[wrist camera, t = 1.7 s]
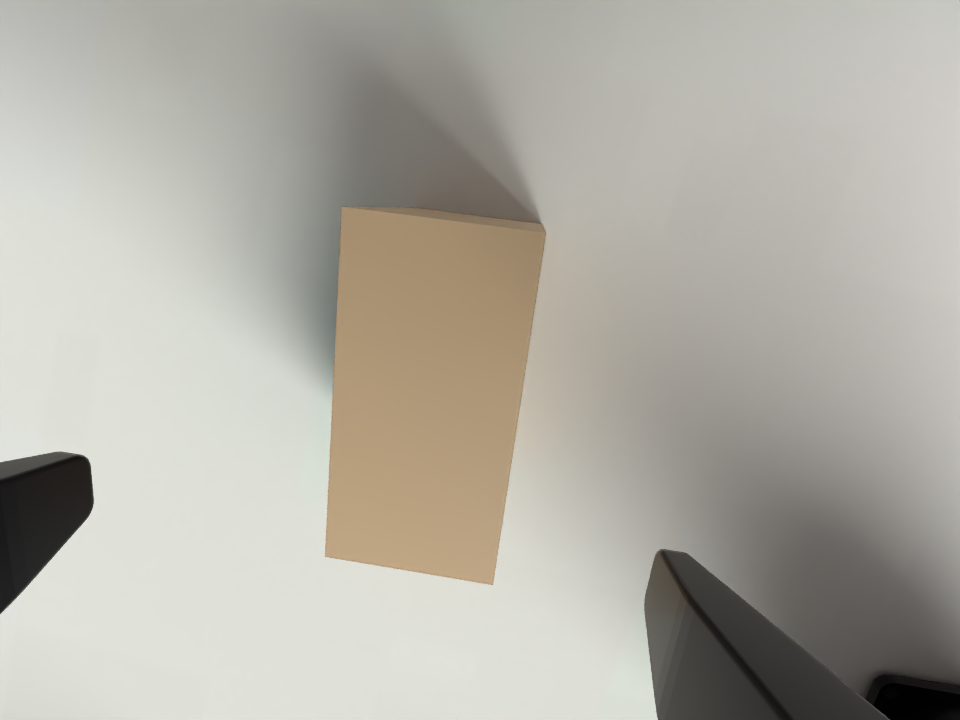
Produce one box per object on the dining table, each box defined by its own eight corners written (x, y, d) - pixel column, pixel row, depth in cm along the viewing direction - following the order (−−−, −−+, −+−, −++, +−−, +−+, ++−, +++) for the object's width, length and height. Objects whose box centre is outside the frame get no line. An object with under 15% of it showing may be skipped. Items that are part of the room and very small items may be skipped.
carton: (542, 223, 18) (546, 233, 12) (506, 463, 21) (493, 584, 14) (402, 206, 19) (328, 204, 12) (384, 444, 21) (314, 554, 14)
